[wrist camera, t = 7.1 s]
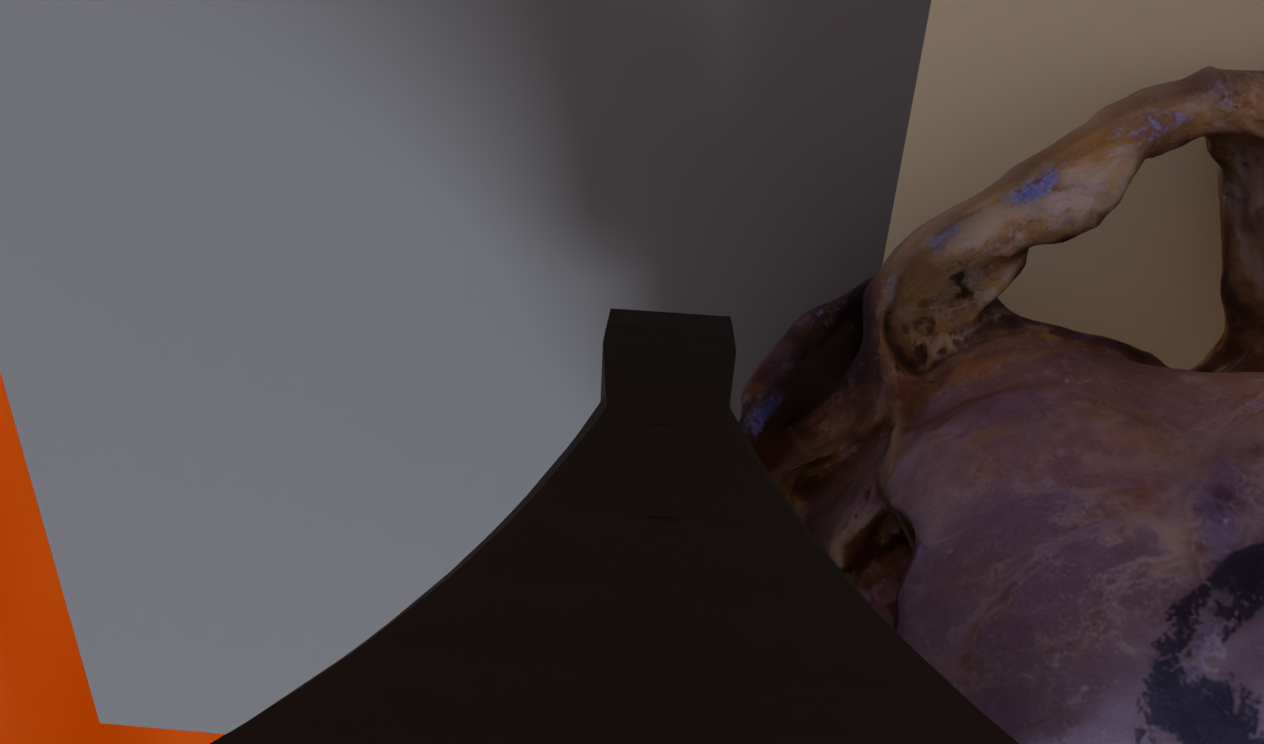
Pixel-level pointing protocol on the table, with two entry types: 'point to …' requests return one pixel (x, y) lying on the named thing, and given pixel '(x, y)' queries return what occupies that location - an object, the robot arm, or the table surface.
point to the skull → (1047, 450)
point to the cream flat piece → (482, 264)
